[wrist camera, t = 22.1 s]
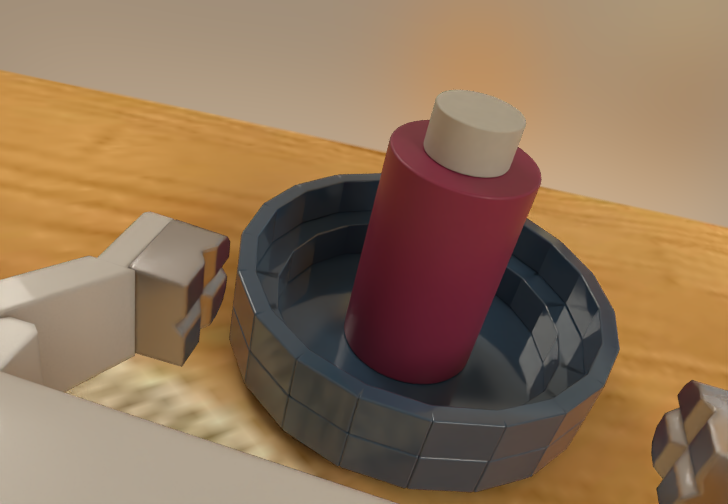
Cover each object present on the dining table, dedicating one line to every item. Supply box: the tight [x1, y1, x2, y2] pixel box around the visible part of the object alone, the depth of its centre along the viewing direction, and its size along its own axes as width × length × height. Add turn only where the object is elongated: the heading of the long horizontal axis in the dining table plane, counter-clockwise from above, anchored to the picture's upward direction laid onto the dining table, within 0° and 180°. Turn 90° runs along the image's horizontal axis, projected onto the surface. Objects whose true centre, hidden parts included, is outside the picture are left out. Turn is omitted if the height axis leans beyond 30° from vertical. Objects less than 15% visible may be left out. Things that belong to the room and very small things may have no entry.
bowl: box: [229, 173, 620, 492], centre depth 28 cm, size 15×15×4 cm
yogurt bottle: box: [344, 90, 541, 384], centre depth 26 cm, size 6×6×11 cm
